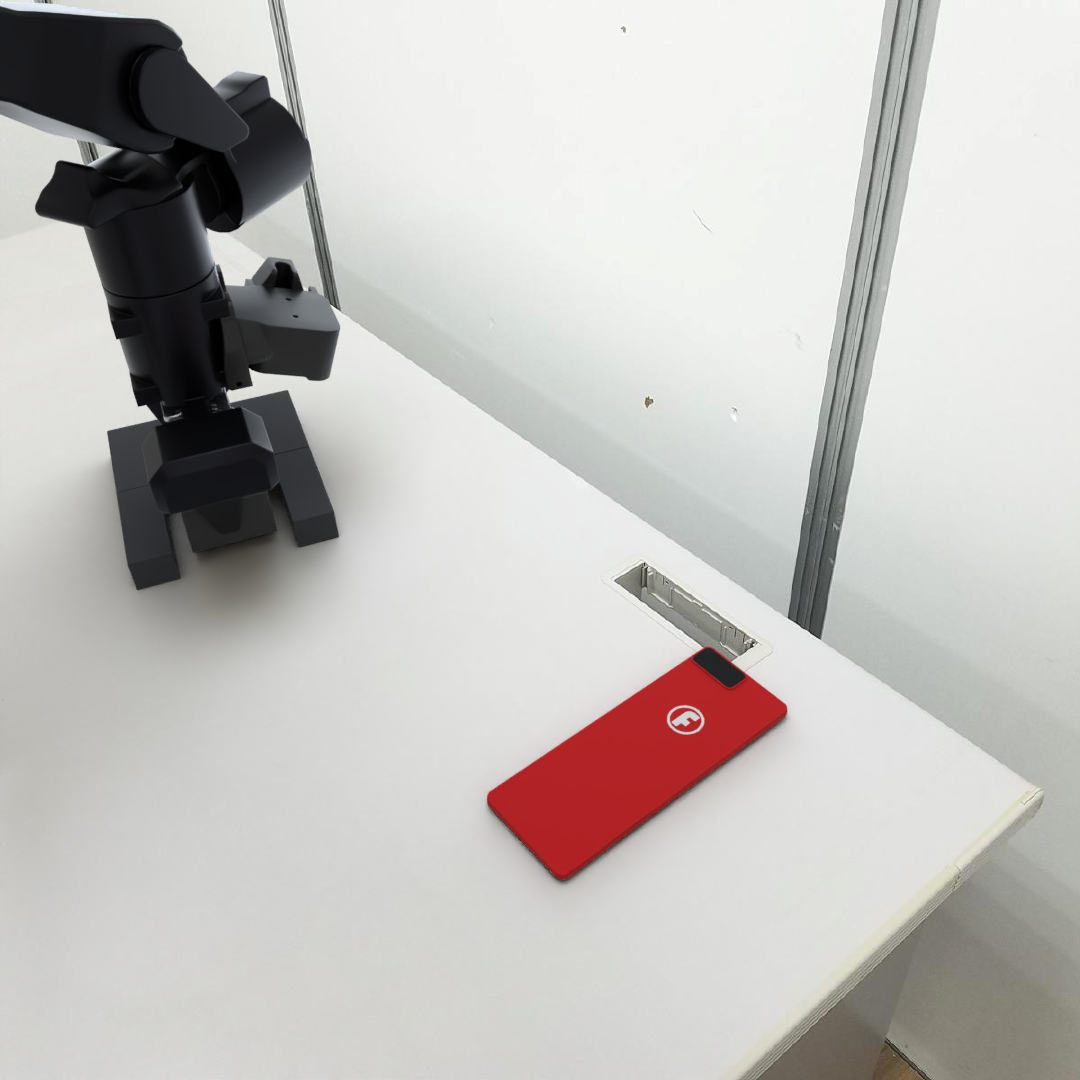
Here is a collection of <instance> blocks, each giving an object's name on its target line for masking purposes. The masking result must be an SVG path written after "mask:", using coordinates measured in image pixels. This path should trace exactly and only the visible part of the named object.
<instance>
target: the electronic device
mask: <svg viewBox="0 0 1080 1080" xmlns="http://www.w3.org/2000/svg"><path fill="white" fill-rule="evenodd" d="M787 715H788V705H787V704H786V702H784V701H782V699H780V698H778V696H776V695H775V694H774V693H772V692H771V691H770V690H768V689H767V688H766V687H764V685H762V684H761V683H759V682H758V681H757V680H755V679H754V678H753V677H752V676H750V675H749V674H747V673H746V671H744V670H742V669H741V668H740V667H739V666H737V665H736V664H735V663H733V662H732V661H731V660H730V659H728V657H726V656H725V655H723V654H722V653H721V652H719V651H718V650H717V649H715V648H714V647H712V646H705V647H702V648H701V649H699V650H698V651H696V652H695V653H693V654H692V655H691V656H689V657H687V658H686V659H685V660H683V661H681V662H680V663H679V664H677V665H676V666H674V667H672V668H671V669H669V670H668V671H667V672H666V673H664V674H662V675H660V676H659V677H658V678H656V679H655V680H653V681H652V682H650V683H648V684H647V685H646V686H644V687H643V688H641V689H640V690H639V691H637V692H636V693H634V694H632V695H631V696H629V697H628V698H626V699H625V700H623V701H622V702H620V703H619V704H618V705H616V706H615V707H613V708H612V709H610V710H608V711H607V712H606V713H604V714H603V715H601V716H600V717H598V718H597V719H595V720H594V721H592V722H591V723H589V724H588V725H586V726H585V727H583V728H582V729H581V730H579V731H577V732H576V733H575V734H572V736H570V737H568V738H567V739H565V740H563V741H562V742H561V743H560V744H558V745H557V746H555V747H554V748H552V749H551V750H549V751H547V752H546V753H545V754H543V755H541V756H540V757H539V758H537V759H535V760H534V761H532V762H531V763H530V764H528V765H527V766H525V767H524V768H522V769H521V770H519V771H518V772H516V773H515V774H513V775H512V776H510V777H509V778H507V779H506V780H504V781H503V782H501V783H500V784H499V785H497V786H495V787H494V788H492V789H491V790H489V791H488V793H487V795H486V803H487V806H488V808H490V809H491V810H492V811H493V812H494V814H495V815H496V816H497V817H498V818H499V819H500V820H501V821H502V822H503V823H504V824H505V826H506V827H508V829H509V830H511V832H512V833H513V834H514V835H515V836H516V837H517V838H518V839H519V840H520V841H521V843H523V844H524V845H525V847H527V849H528V850H529V851H530V852H531V853H532V854H533V855H534V857H536V859H538V860H539V861H540V862H541V864H542V865H543V866H544V867H545V868H546V869H547V870H548V871H549V872H550V873H551V875H553V876H554V878H556V879H557V880H560V881H566V880H569V879H570V878H572V876H574V875H576V874H577V873H578V872H580V871H581V870H582V869H583V868H585V867H586V866H588V865H589V864H590V863H592V862H593V861H594V860H596V859H598V857H600V856H601V855H603V853H606V852H607V850H609V849H610V848H612V847H613V846H614V845H616V844H617V843H619V842H620V841H621V840H622V839H624V838H625V837H626V836H628V835H629V834H631V833H632V832H633V831H634V830H636V829H637V828H639V827H640V826H641V825H642V824H644V823H646V821H649V819H650V818H653V816H655V815H656V814H657V813H658V812H660V811H661V810H662V809H664V808H665V807H667V806H668V805H670V804H671V803H672V802H673V801H675V800H676V799H677V798H679V797H681V795H683V794H685V792H687V791H688V790H690V789H691V788H692V787H694V786H695V785H697V784H698V783H699V782H700V781H701V780H703V779H704V778H706V777H707V776H708V775H710V774H711V773H712V772H714V771H715V770H716V769H718V768H719V767H721V766H722V765H723V764H724V763H726V762H727V761H729V760H730V759H731V758H733V757H734V756H735V755H736V754H738V753H739V752H741V751H742V750H743V749H745V748H746V747H748V746H749V745H750V744H752V743H753V742H754V741H755V740H757V739H758V738H759V737H761V736H762V735H763V734H765V733H767V731H769V730H770V729H771V728H772V727H774V726H775V725H777V724H778V723H780V722H781V721H782V720H784V719H785V718H786V717H787Z"/></svg>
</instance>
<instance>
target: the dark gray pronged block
mask: <svg viewBox="0 0 1080 1080" xmlns="http://www.w3.org/2000/svg"><path fill="white" fill-rule="evenodd" d="M230 405H231V407H233V408H237V407H242V408H244V409H246V410H248V411H250V412H252V413H254V414H256V415H258V416H260V417H262V420H263V423H264V426H265V429H266V432H267V435H268V437H269V440H270V443H271V446H272V449H273V452H274V456H275V461H276V465H277V469H278V474H279V478H280V482H279V483H278V484H277V488H278V489H279V492H280V495H281V498H282V499H281V500H282V502H283V505H284V507H285V508H284V509H285V511H286V513H287V517H288V519H289V523H290V526H291V529H292V531H293V535H294V538H295V542H296V544H297V547H298V548H301V547H305V546H308V545H313V544H317V543H320V542H324V541H327V540H331V539H335V538H338V537H339V536H340V534H339V530H338V524H337V519H336V515H335V514H336V513H335V511H334V510H335V509H334V508H333V505H332V503H331V500H330V497H329V494H328V492H327V489H326V487H325V484H324V482H323V479H322V476H321V474H320V471H319V468H318V465H317V463H316V460H315V457H314V455H313V452H312V450H311V447H310V445H309V442H308V441H309V440H308V439H307V436H306V434H305V431H304V428H303V426H302V423H301V421H300V418H299V415H298V413H297V410H296V407H295V405H294V402H293V399H292V397H291V394H290V392H289V390H288V389H284V390H281V391H280V390H279V391H276V392H272V393H267V394H263V395H258V396H254V397H250V398H246V399H240V400H236V401H233V402H230ZM158 425H162V424H161V423H160V422H159V420H158V419H157V418H156V419H152V420H148V421H144V422H140V423H136V424H131V425H126V426H123V427H118V428H114V429H109V430H107V431H106V435H107V441H108V442H107V443H108V447H109V454H110V459H111V465H112V473H113V479H114V486H115V493H116V499H117V507H118V513H119V519H120V525H121V533H122V538H123V539H122V540H123V545H124V552H125V557H126V563H127V565H126V566H127V568H128V570H129V573H130V575H131V578H132V581H133V583H134V586H135V589H136V590H141V589H145V588H149V587H153V586H156V585H161V584H164V583H168V582H171V581H176V580H179V579H181V575H180V569H179V565H178V560H177V555H176V550H175V546H174V541H173V536H172V532H171V531H172V530H171V527H170V521H169V517H168V514H166V513H163V512H159V511H158V510H157V507H156V503H155V500H154V497H153V494H152V491H151V488H150V485H149V482H148V477H147V472H146V467H145V461H144V456H143V451H142V446H141V445H142V443H143V442H144V441H145V439H146V438H147V436H148V435H149V434H150V432H151V431H152V430H153V428H154V427H155V426H158Z"/></svg>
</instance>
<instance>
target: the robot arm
mask: <svg viewBox="0 0 1080 1080" xmlns="http://www.w3.org/2000/svg"><path fill="white" fill-rule="evenodd" d="M183 45H184V44H183V40H182V36H181V35H180V34H179V33H178V32H177V31H176V30H175V29H174V28H173V27H172V26H170V25H168V24H166V23H165V22H163V21H161V20H159V19H154V18H148V17H142V16H135V15H129V14H122V13H115V12H110V11H104V10H103V11H102V10H96V9H90V8H82V7H76V6H70V5H64V4H57V3H43V2H26V1H7V0H4V1H2V0H0V116H2V117H5V118H9V119H10V120H13V121H16V122H18V123H21V124H23V125H26V126H28V127H31V128H33V129H36V130H38V131H41V132H43V133H46V134H50V135H53V136H57V137H62V138H66V139H72V140H76V141H82V142H86V143H91V144H95V145H101V146H105V147H111V148H115V150H112V151H110V152H109V153H107V154H104V155H102V156H100V157H99V158H97V159H95V160H93V161H92V162H90V163H88V164H82V163H79V162H73V161H68V160H64V159H59V160H58V161H56V162H55V165H54V169H53V173H52V176H51V179H50V180H49V181H48V182H47V184H46V185H45V186H43V188H42V190H41V191H40V193H39V196H38V198H37V200H36V202H35V204H34V211H35V213H36V214H37V215H38V216H39V217H40V218H44V219H45V218H46V219H48V220H53V221H57V222H62V223H65V224H69V225H74V226H77V227H82V228H83V230H84V234H85V236H86V240H87V242H88V246H89V248H90V252H91V255H92V258H93V261H94V265H95V267H96V271H97V273H98V277H99V280H100V283H101V286H102V290H103V293H104V297H105V299H106V304H107V309H108V315H109V320H110V324H111V327H112V331H113V333H114V337H115V340H119V343H120V346H121V349H122V352H123V356H124V360H125V363H126V365H127V368H128V372H129V378H130V384H131V388H132V392H133V396H134V399H135V403H136V405H137V407H138V408H140V407H144V406H146V407H147V408H148V409H149V411H150V412H151V413H152V414H153V416H154V417H155V418H156V420H157V419H158V420H159V422H160V423H161V424H162V425H158V426H155V427H154V428H153V430H152V431H151V432H150V434H149V435H148V436H147V438H146V439H145V441H144V442H143V443H142V445H141V446H142V451H143V456H144V461H145V467H146V472H147V477H148V482H149V485H150V488H151V491H152V494H153V497H154V500H155V503H156V507H157V510H158V511H159V512H163V513H166V514H167V515H169V516H172V515H176V514H181V512H184V511H188V510H192V509H194V510H195V511H196V512H197V513H198V514H199V515H201V516H202V517H203V518H204V519H205V520H206V521H207V522H208V523H209V524H211V525H212V526H213V527H214V528H215V529H216V530H217V531H218V532H220V533H221V534H223V535H226V534H230V533H234V532H237V531H239V530H240V526H241V505H242V497H245V496H249V495H253V494H257V493H261V492H265V491H267V492H268V491H269V492H270V491H272V490H273V489H275V487H276V486H278V483H279V482H280V478H279V474H278V469H277V465H276V461H275V456H274V452H273V449H272V446H271V443H270V440H269V437H268V435H267V432H266V429H265V426H264V423H263V420H262V417H260V416H258V415H256V414H254V413H252V412H250V411H248V410H246V409H244V408H242V407H237V408H233V407H231V405H230V403H231V402H230V399H229V395H228V392H229V391H231V392H232V391H237V390H241V389H246V388H250V387H253V386H254V384H253V381H252V375H251V371H253V372H256V373H259V374H264V375H265V374H266V375H275V376H277V375H278V376H287V377H288V376H289V377H301V378H306V379H307V381H310V382H324V381H326V380H328V379H330V377H331V373H332V369H333V364H334V359H335V354H336V350H337V346H338V340H339V336H340V332H341V324H340V322H339V320H338V318H337V316H336V313H335V312H334V309H333V307H332V306H331V303H330V301H329V299H328V298H327V297H325V296H324V295H322V294H320V293H319V292H318V290H317V287H316V286H311V285H309V286H308V288H307V289H308V290H304V287H303V284H302V280H301V277H300V275H299V273H298V272H299V271H298V270H297V267H296V265H295V264H294V263H295V262H293V260H292V259H290V258H281V257H275V256H267V257H266V259H265V260H264V261H263V263H262V264H261V265H260V267H259V268H258V269H257V270H256V272H255V273H254V274H253V275H252V276H251V278H245V280H244V285H230V284H226V283H225V279H224V274H223V270H222V268H221V265H220V264H219V263H218V264H216V263H215V257H214V254H213V249H212V245H211V241H210V237H209V232H208V230H209V231H212V232H214V233H221V234H222V233H223V234H224V233H225V234H227V233H232V232H235V231H237V230H239V229H241V228H242V227H244V226H245V225H246V224H248V223H249V222H252V220H254V219H255V218H257V217H258V216H259V215H261V214H263V213H264V212H266V211H267V210H269V209H270V208H272V207H274V206H275V205H276V204H278V203H279V202H281V201H282V200H284V199H285V198H286V197H288V196H289V195H292V194H293V193H294V192H296V191H297V190H299V189H300V188H301V187H302V186H303V185H304V184H305V183H306V182H307V181H308V179H309V176H310V175H311V171H312V164H313V161H312V160H313V159H312V158H313V157H312V148H311V144H310V141H309V139H308V138H307V137H305V134H304V133H303V130H302V128H301V126H300V125H299V123H298V122H297V120H296V119H295V117H294V116H293V115H292V113H291V112H290V111H289V110H288V109H287V108H286V107H285V106H284V104H282V103H280V102H279V100H277V99H276V98H274V97H272V95H271V91H270V85H269V78H268V77H267V76H266V75H264V74H256V73H251V72H246V71H240V70H236V71H233V72H232V73H230V74H228V75H226V76H225V77H223V78H222V79H221V80H220V81H219V82H218V83H217V84H216V85H214V86H212V85H211V84H210V83H209V82H208V80H206V79H205V78H204V77H203V76H202V75H201V73H199V71H198V70H196V68H195V67H194V66H193V65H192V64H191V63H190V62H189V60H188V57H187V55H186V52H185V50H184V48H183ZM250 370H251V371H250Z"/></svg>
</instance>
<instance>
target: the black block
mask: <svg viewBox="0 0 1080 1080" xmlns="http://www.w3.org/2000/svg"><path fill="white" fill-rule="evenodd" d="M180 516H181V519H182V522H183V526H184V529H185V532H186V535H187V538H188V541H189V544H190V547H191V550H192V553H194V554H195V553H199V552H202V551H207V550H211V549H214V548H218V547H222V546H227V545H230V544H233V543H238V542H241V541H246V540H250V539H253V538H257V537H261V536H264V535H265V536H266V535H268V534H272V533H273V534H274V533H277V532H278V529H277V524H276V521H275V516H274V511H273V508H272V504H271V499H270V495H269V492H268V491H265V492H261V493H257V494H253V495H249V496H245V497H242V505H241V526H240V530H239V531H237V532H234V533H230V534H226V535H223V534H221V533H220V532H218V531H217V530H216V529H215V528H214V527H213V526H212V525H211V524H209V523H208V522H207V521H206V520H205V519H204V518H203V517H202V516H201V515H199V514H198V513H197V512H196V511H195V510H194V509H192V510H188V511H184V512H180Z"/></svg>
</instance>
